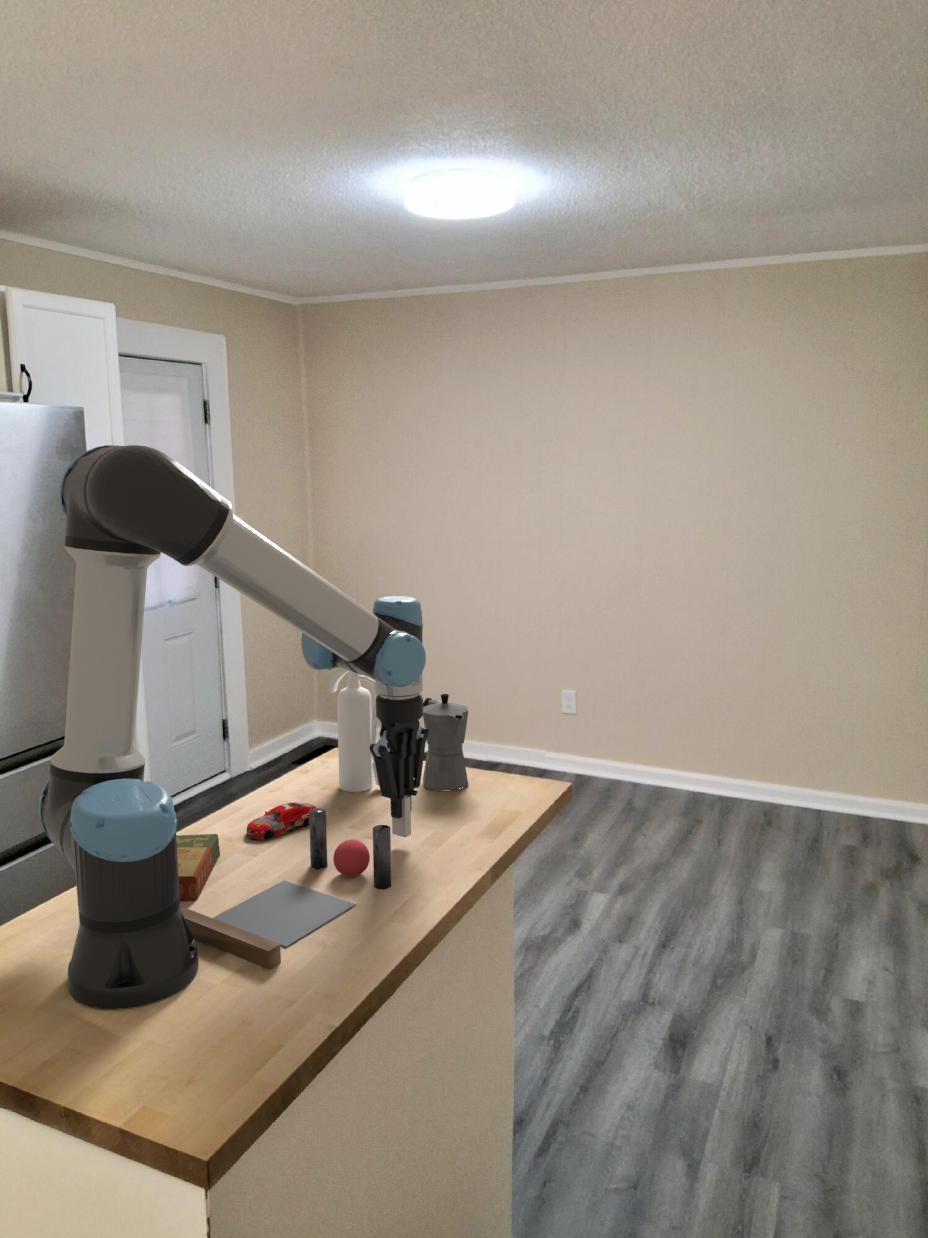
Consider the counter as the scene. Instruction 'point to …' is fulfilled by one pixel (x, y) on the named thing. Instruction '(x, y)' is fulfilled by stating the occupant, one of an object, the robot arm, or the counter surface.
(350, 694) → the fire extinguisher
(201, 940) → the stopper wall
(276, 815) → the race car
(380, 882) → the near post
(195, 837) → the carton
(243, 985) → the counter surface
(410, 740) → the robot arm
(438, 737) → the coffeepot
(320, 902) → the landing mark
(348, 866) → the ball
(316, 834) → the far post
